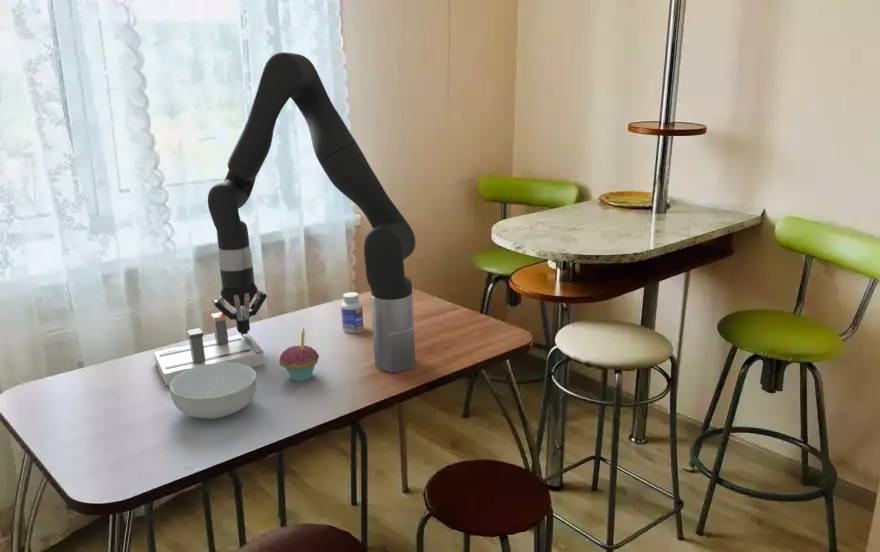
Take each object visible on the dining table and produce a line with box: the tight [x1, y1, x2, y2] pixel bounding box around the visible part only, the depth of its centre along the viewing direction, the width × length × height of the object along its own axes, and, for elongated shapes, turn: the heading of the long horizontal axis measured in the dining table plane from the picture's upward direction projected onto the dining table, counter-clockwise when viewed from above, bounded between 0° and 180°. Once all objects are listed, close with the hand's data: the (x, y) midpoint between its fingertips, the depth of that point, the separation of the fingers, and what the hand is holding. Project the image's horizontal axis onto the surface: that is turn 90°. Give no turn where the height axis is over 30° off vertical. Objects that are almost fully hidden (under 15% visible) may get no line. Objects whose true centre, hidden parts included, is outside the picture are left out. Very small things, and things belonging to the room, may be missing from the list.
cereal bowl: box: [169, 363, 258, 420], centre depth 149 cm, size 17×17×7 cm
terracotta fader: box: [210, 311, 229, 345], centre depth 175 cm, size 3×3×7 cm
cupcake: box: [278, 328, 320, 382], centre depth 163 cm, size 9×8×12 cm
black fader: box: [186, 327, 205, 363], centre depth 165 cm, size 3×3×7 cm
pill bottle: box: [340, 291, 364, 334], centre depth 189 cm, size 5×5×10 cm
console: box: [153, 332, 265, 387], centre depth 172 cm, size 14×22×3 cm, turn 119°
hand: (243, 333), depth 179 cm, fingers closed
